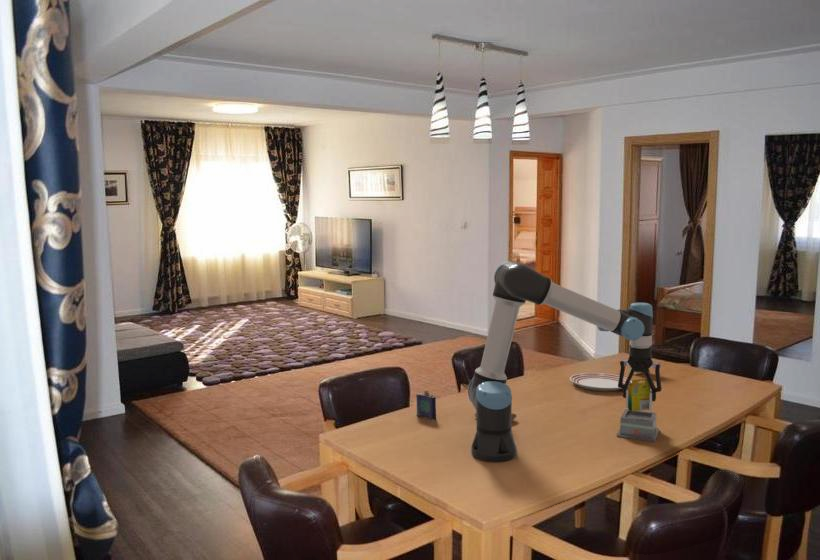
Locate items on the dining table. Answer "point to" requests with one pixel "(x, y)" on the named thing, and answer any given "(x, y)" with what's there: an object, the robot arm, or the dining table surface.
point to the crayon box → (638, 395)
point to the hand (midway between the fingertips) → (639, 408)
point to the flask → (426, 405)
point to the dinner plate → (598, 381)
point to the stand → (638, 425)
